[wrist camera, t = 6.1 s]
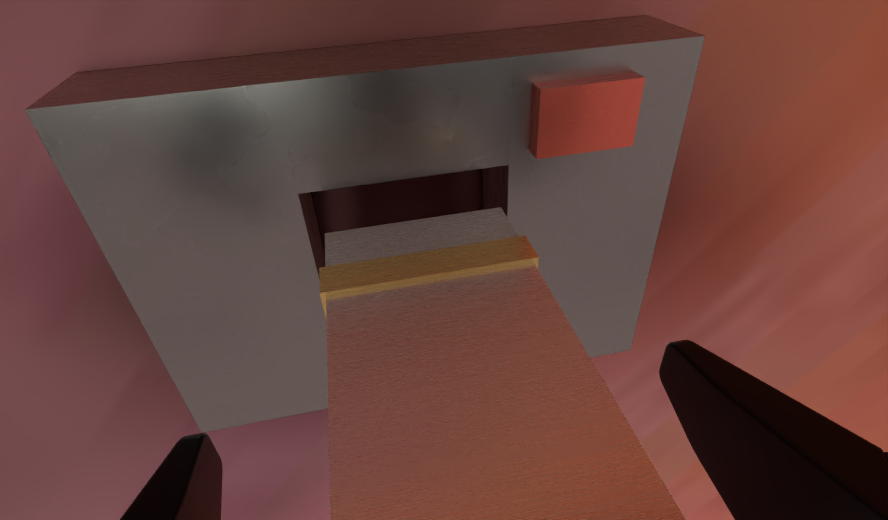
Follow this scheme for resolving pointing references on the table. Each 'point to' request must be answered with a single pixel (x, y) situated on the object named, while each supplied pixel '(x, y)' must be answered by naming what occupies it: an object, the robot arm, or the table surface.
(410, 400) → the post
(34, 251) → the table surface
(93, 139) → the sleeve block
